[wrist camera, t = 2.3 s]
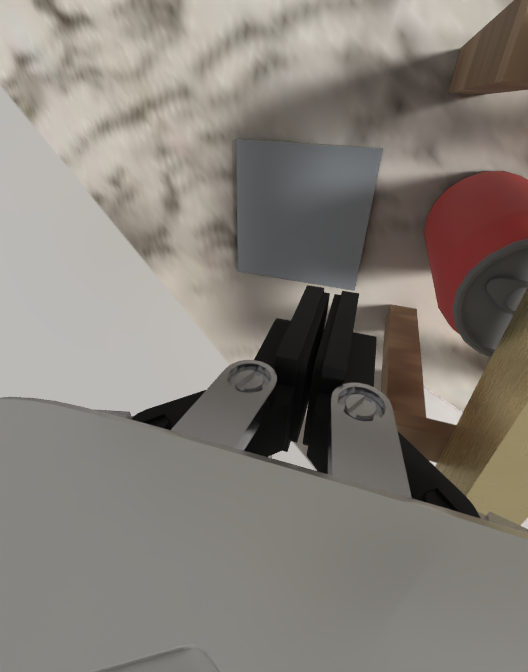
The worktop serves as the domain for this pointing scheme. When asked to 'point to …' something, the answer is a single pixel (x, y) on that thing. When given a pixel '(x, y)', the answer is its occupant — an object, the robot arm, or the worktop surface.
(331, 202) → the coaster
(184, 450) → the robot arm
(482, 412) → the bar
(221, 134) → the worktop surface
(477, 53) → the frame
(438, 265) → the beer can
